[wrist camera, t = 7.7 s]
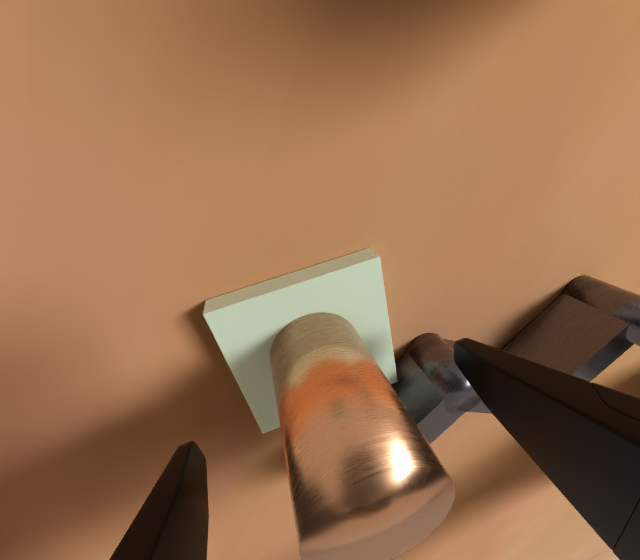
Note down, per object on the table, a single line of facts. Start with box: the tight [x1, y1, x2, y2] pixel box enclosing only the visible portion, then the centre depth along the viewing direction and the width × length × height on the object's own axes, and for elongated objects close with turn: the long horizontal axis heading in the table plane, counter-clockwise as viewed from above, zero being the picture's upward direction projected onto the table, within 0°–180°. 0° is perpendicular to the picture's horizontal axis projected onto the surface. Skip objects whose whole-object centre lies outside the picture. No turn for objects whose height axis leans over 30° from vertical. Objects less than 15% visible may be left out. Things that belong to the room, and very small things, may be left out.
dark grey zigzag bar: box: [391, 275, 640, 444], centre depth 14 cm, size 5×16×4 cm, turn 103°
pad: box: [203, 248, 398, 434], centre depth 12 cm, size 6×6×1 cm
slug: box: [270, 312, 456, 560], centre depth 9 cm, size 4×4×6 cm
